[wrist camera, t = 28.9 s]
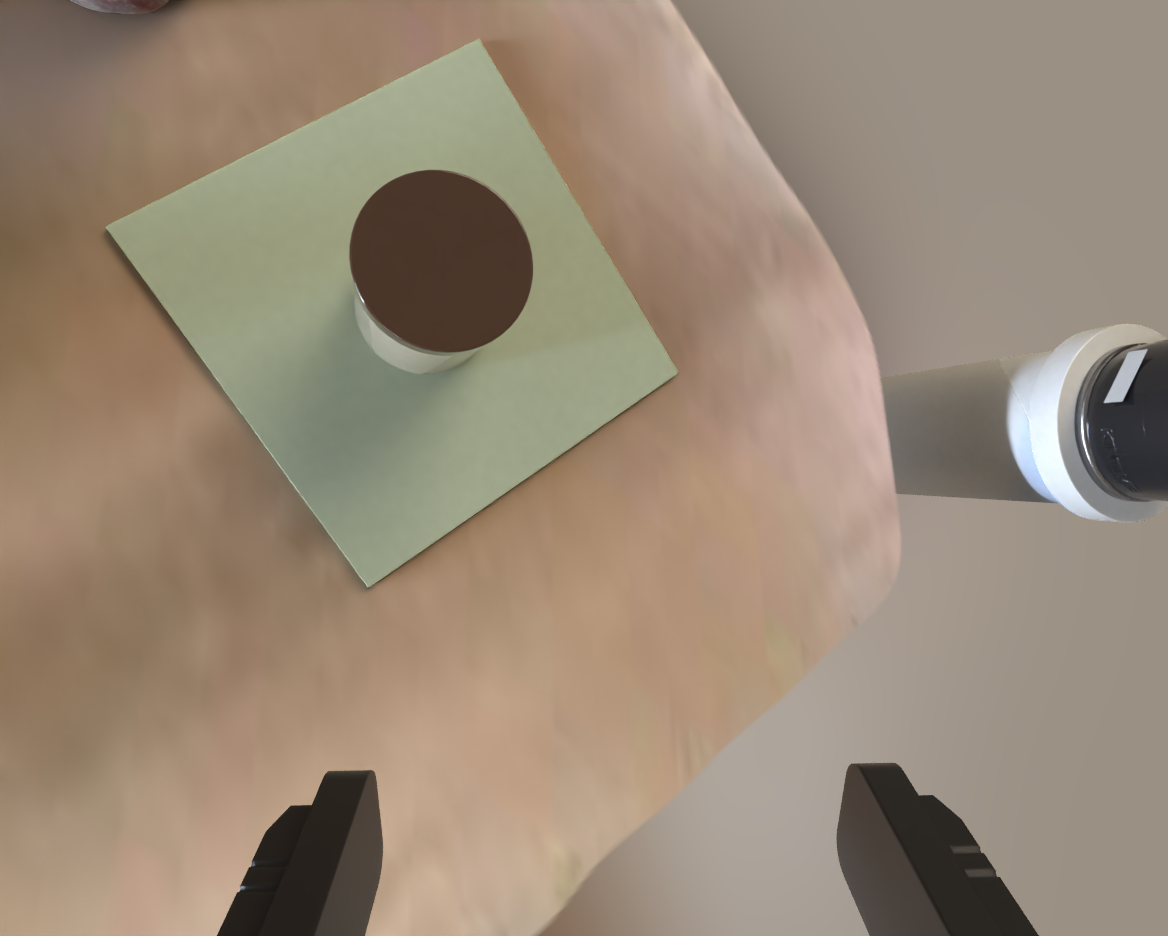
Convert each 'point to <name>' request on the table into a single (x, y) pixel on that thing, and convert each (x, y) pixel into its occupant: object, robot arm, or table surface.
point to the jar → (437, 270)
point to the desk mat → (333, 339)
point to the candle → (122, 5)
